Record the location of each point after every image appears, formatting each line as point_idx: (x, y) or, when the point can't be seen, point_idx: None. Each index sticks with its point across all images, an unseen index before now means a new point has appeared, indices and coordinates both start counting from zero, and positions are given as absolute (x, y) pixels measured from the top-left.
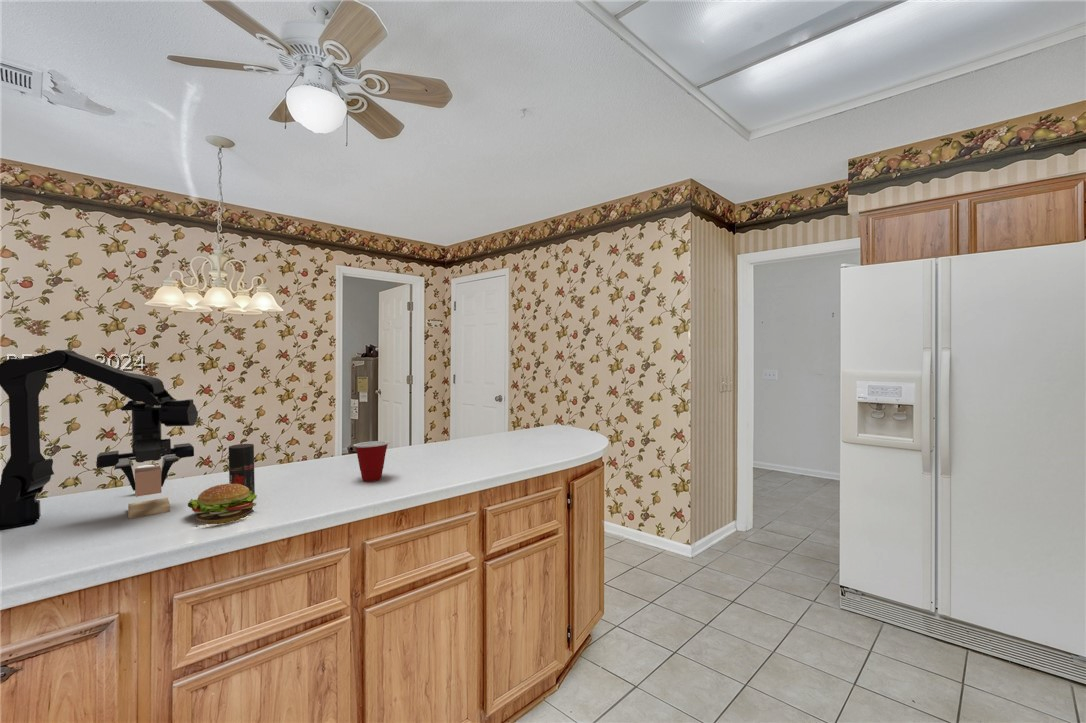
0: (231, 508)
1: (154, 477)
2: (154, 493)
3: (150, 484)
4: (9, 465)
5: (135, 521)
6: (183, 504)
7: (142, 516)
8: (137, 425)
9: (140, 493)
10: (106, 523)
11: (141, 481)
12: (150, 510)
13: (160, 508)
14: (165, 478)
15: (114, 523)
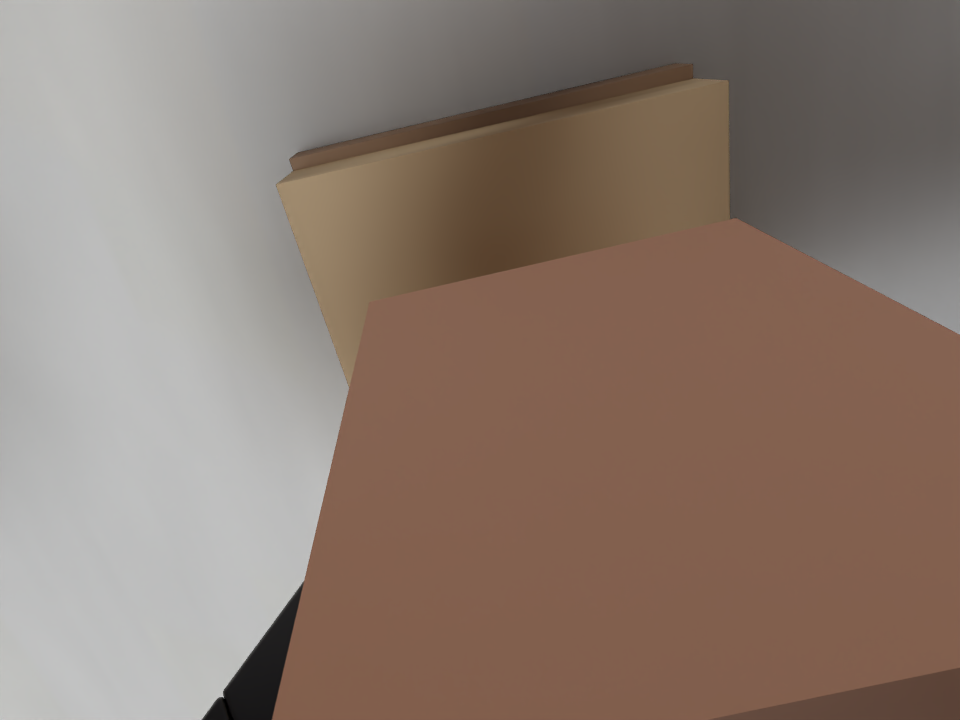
0: None
1: (498, 474)
2: (470, 279)
3: (563, 355)
4: None
5: (614, 64)
6: (277, 464)
7: (560, 98)
8: None
9: (687, 245)
10: (857, 150)
11: (805, 366)
12: (489, 131)
13: (384, 157)
14: (301, 587)
15: (796, 105)
